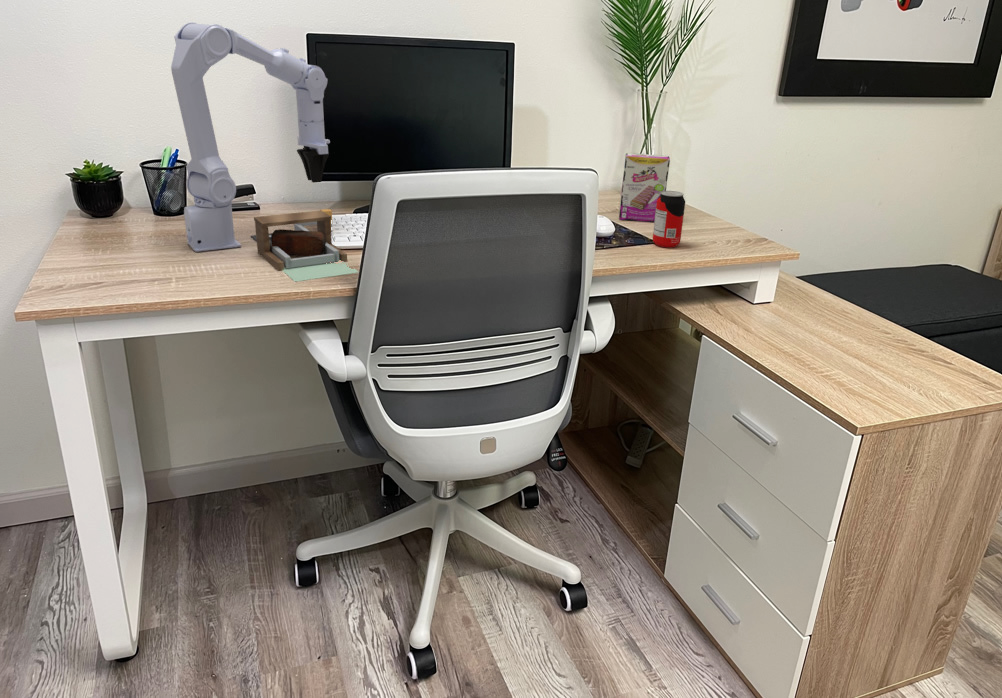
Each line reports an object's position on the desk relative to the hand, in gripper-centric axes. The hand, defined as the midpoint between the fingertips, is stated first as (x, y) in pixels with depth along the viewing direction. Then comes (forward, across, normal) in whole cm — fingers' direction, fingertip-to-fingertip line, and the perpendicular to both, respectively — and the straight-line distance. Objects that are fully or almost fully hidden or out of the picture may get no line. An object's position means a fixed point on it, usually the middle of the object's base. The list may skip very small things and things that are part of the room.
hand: (314, 180), depth 182 cm
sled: (+10, -18, +8) cm, 22 cm away
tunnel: (+10, -23, +12) cm, 28 cm away
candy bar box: (+11, -30, -76) cm, 82 cm away
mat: (+10, -34, +12) cm, 37 cm away
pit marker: (+10, -7, +13) cm, 18 cm away
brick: (+10, -22, +12) cm, 28 cm away
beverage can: (+11, -50, -65) cm, 83 cm away
